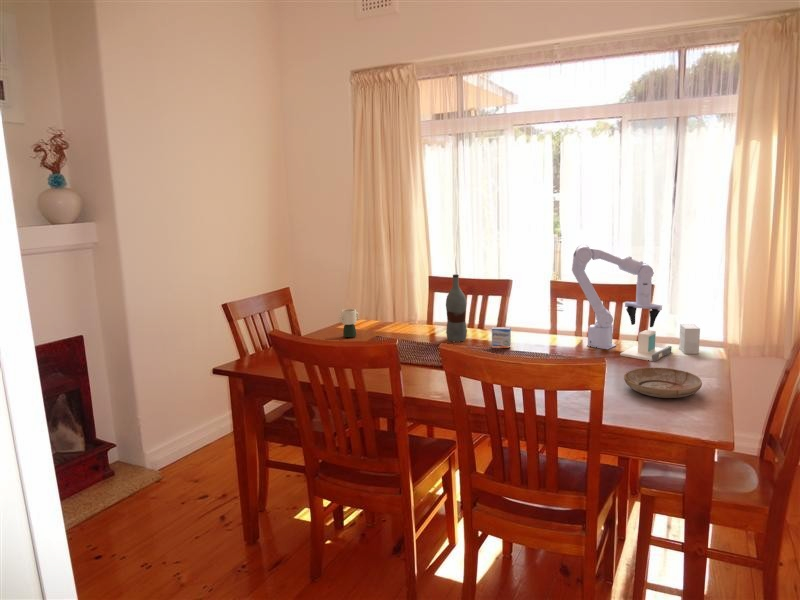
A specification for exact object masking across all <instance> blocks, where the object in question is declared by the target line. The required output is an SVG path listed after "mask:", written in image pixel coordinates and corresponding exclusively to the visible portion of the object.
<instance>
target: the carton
mask: <svg viewBox="0 0 800 600" xmlns="http://www.w3.org/2000/svg"><path fill="white" fill-rule="evenodd" d="M656 334H657V333H656V330H650V329H645V330H643V331H640V332H638V337H637V338H638V339H637V345H638V353H643V354H649V353H651V352H653V351H655V347H656Z"/></svg>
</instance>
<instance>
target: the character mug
mask: <svg viewBox="0 0 800 600" xmlns="http://www.w3.org/2000/svg"><path fill="white" fill-rule="evenodd" d="M340 314H341V315H338V322H339V323H342V324H343V325H344V326H343V330H342V331H343V333H342V335H343V337H346V338H347V337H348V338H354V337H356V336H357V331H356V330H357V329H356V325H355V324H357V320H359V318H360V314H359V312H358V311H357V310H356V308H343V309H341V312H340Z"/></svg>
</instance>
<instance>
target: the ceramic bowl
mask: <svg viewBox="0 0 800 600" xmlns="http://www.w3.org/2000/svg"><path fill="white" fill-rule="evenodd" d="M623 379H624V382H625V384H626V385H627V386H628V387H629V388H630V389H632V390H634V391H635V392H638V393H640V394H642V395H645V396H649V397H654V398H660V399H662V398H663V399H675V398H684V397H688V396H691V395H693V394H695V393H697V392H698V391H699V390H700V389H701V388H702V385H703V382H702V379H701V377H699V376H698V375H696V374H694V373H691V372H688V371H685V370H680V369H674V368H669V367H667V368H666V367H641V368H634V369H631V370H629V371H627V372H625V374H624V375H623Z"/></svg>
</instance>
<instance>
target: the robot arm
mask: <svg viewBox="0 0 800 600" xmlns="http://www.w3.org/2000/svg"><path fill="white" fill-rule="evenodd" d="M591 260H593V261H595V260H602V261H605V262H608V263H611V264H614V265H617V266H618V268H619V270H621V271H624V272H626V273H628V274H631V275H634V276H635V275H637V276H636V280H637V281H636V289H635V290H636V291H635V301H625V302H624V307H625V308H626V313H627V314H628V316H629V320H630V323H631V326H634V325H635V324H636V313H637V308H638V309H643V310H644V309H645V310H649V312H648V313H649V327H650V328H653V327H654V325H655V321H656V319H657V317H658V316H659V313H660V312H661V311H662V310H663V305H661V304H655V303H652V288H653V286H652V285H653V283H652V280H653V278H652V277H653V276H654V274H655V273H654V269H653V267H652V266H650V265H649V264H647V263H646V262H644V261H642V260H640V261H639V260H636V259H633V257H632V256H629V255H628V256H626V255H625V256H623V257H619V256H617V255H615V254H612V253H610V252H608V251H605V250H603V249H600V248H597V247H594V246H588V245H587V244H580V245H578V246H577V247H576V249H575V251H574V253H573V257H572V267H571V271H572V274H573V276H574V277H575V279H576V281H577V282H578V285H579V287H580V288H581V290H582V292H583V293H584V296H585V297H586V300H587V302H588V303H589V304H590V306H591V308H592V310H593V311H594V317H595V320H596V322H595V323H594V324H590V325H589V327H588V328H587V329H588V331H587V345H586V346H587V347H590V346H591V348H596V347H597V348H596V349H602V350H610V349H612V348H614V347H616V346H617V344H616V343H615V344H614V343H613V330H614V328H613V327H614V325H613V322H614V318H613V316H612V314H611V312H610V311H609V309H607V308H606V307H605V305H604V304H603V302H602V300H601V298H600V297H599V294H598V293H597V292H596V290H595V287H594V285H593V284H592V282H591V280H590V278H589V276H588V275H587V273H586V271H585V270H586V267H587V266H588V265H587V264H588V263H590V261H591Z"/></svg>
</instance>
